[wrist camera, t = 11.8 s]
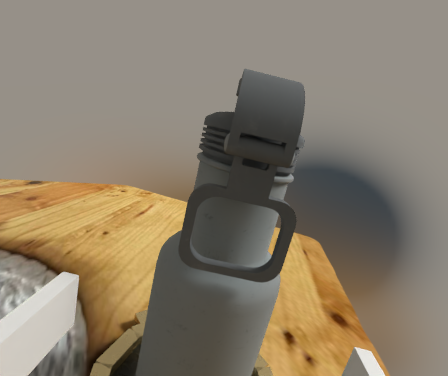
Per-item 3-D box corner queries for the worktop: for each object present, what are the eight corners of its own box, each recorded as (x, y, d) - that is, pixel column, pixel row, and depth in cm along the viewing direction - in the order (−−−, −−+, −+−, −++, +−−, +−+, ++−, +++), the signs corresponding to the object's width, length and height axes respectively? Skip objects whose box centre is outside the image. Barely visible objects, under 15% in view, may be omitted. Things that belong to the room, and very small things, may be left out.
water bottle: (239, 486, 18) (386, 84, 11) (106, 461, 17) (179, 31, 11) (235, 358, 28) (312, 105, 21) (150, 340, 27) (202, 78, 21)
